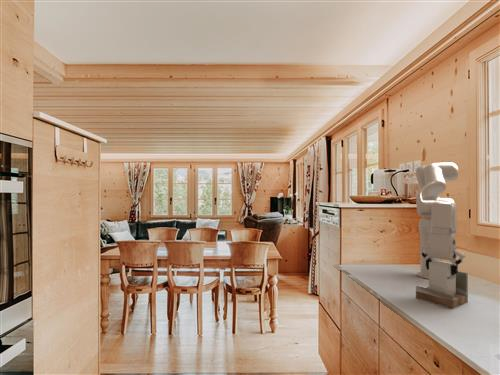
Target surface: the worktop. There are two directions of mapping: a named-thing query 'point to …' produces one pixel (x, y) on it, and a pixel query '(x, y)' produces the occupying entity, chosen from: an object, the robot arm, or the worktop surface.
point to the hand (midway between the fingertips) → (441, 271)
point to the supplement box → (442, 277)
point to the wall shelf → (446, 298)
